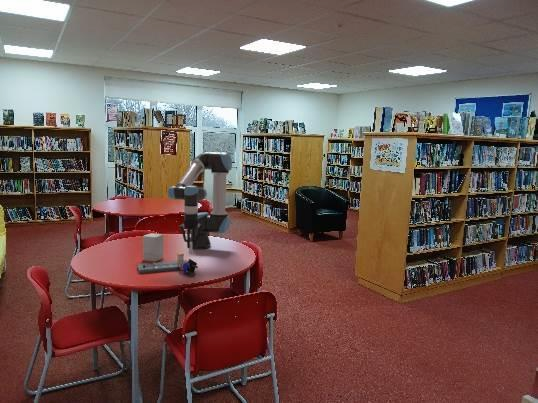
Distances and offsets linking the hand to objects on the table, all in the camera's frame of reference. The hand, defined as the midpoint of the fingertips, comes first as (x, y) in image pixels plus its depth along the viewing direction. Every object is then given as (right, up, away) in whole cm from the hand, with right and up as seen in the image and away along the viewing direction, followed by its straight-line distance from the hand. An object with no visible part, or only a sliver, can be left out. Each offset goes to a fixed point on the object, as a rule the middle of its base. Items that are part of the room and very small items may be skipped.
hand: (190, 253), depth 236 cm
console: (-14, -8, -4) cm, 17 cm away
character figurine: (+1, -10, -12) cm, 15 cm away
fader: (-6, -5, -1) cm, 8 cm away
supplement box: (-25, -5, +13) cm, 29 cm away
